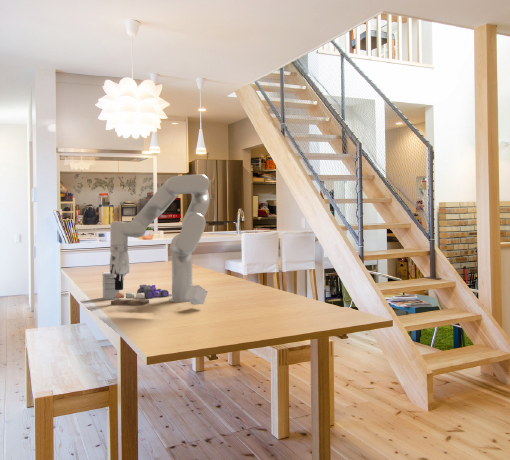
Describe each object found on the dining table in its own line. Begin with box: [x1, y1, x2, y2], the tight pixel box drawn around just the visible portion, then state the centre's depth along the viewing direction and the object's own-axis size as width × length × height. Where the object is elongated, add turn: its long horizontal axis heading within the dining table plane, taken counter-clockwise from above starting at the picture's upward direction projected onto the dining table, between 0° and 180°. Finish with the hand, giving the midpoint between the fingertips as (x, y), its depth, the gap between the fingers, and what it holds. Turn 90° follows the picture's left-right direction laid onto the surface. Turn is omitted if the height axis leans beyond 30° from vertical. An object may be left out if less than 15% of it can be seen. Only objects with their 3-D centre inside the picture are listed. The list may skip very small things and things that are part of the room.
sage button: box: [125, 292, 135, 299], centre depth 214 cm, size 4×4×2 cm
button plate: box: [110, 298, 150, 306], centre depth 214 cm, size 16×6×2 cm, turn 77°
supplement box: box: [102, 271, 120, 301], centre depth 233 cm, size 7×7×13 cm
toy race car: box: [136, 284, 172, 300], centre depth 238 cm, size 10×15×6 cm, turn 128°
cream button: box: [135, 292, 146, 300], centre depth 213 cm, size 4×4×2 cm
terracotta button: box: [116, 292, 125, 299], centre depth 215 cm, size 4×4×2 cm
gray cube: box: [185, 284, 208, 305], centre depth 208 cm, size 6×6×6 cm
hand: (119, 289), depth 215 cm, fingers closed
